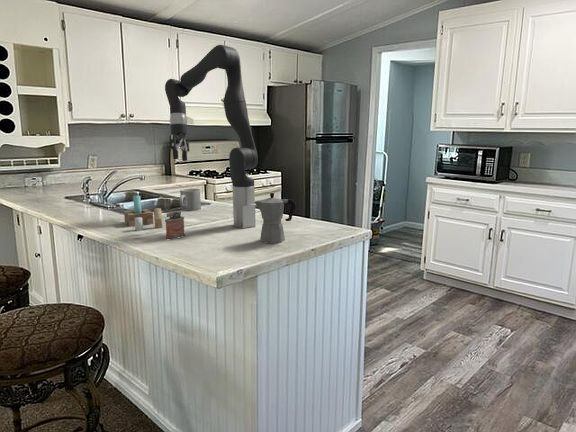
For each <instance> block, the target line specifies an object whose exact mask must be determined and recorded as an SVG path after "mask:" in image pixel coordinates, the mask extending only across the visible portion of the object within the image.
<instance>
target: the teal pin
mask: <svg viewBox="0 0 576 432" xmlns="http://www.w3.org/2000/svg"><path fill="white" fill-rule="evenodd" d="M132 199H133V210H134V214H135V213H142V211H141V210H142V201H141V200H142V199H141V195H133V196H132Z"/></svg>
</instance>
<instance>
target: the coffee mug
mask: <svg viewBox="0 0 576 432" xmlns="http://www.w3.org/2000/svg"><path fill="white" fill-rule="evenodd" d="M179 192H180V193H179V194H180V196H179V199H178V202H179V205H180V208H181V211H184V212H191V211H193V212H194V211H200V210H202V203H201V202H202V201H201V189H200V188H182V189H180V190H179Z"/></svg>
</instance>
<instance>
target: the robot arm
mask: <svg viewBox="0 0 576 432" xmlns="http://www.w3.org/2000/svg"><path fill="white" fill-rule="evenodd" d="M241 66H242V65H241V57H240V54H239V52H238V51H237V49H236V48H234V47H231V46H229V45H224V44H217V45H215V46H214V47H213V48H211V49H210V51H209V52H207V54H205V56H203V58H201V60H199V62H198V63H197V64H195V65H194V66H192V68H190V69H189V70H187V71H186V72H184V73H183V74H182V75H181V76H180V78H179V80H177V79H173V78H169V79H168V80H166V82H165V84H164V91H165V95H166V98H167V102H168V105H169V129H170V130H169V131H170V135H169V149H170V150H171V151H172V159H173V160H179V149H180V151H181V161H182V162H187V161H188V153H190V141H189V138H186V136H187V135H188V118H187V109H186V103H185V102H184V101H183V100H181V99H180V98H184V97H186V96H188V95H189V94H190V92H191V91H192V89H193V88H195V87H197V86H198V85H200V84H202V83H203V82H204V80H205V79H206V78H207V74H208V73H209V72H210V71H212V70H216V69H221V70H225V73H226V79H227V87H226V90H225V93H224V97H223V108H224V112H225V117H226V120H227V122H228V123H229V125H230V127H231V128H232V129H233V130H234V132H235V133H236V134H237V136H238V139H239V142H240V146H241V147H233V148H232V149H231V150H230V152H229V156H228V158H229V159H228V161H229V174H230V180H231V183H232V186H231V187H232V215H233V226H234V227H235V228H242V229H246V228H253V227H256V226H257V224H256V220H257V218H256V204H255V203H254V202H255V201H256V200H255V195H256V194H255V178H252V177H250V176H248V175H247V174H246V170H251V169H255V168H256V167H257V166H258V162H259V158H258V151H257V147H256V144H255V140H254V136H253V132H252V129H251V125H250V118H249V114H248V113H249V112H248V107H247V101H246V97H245V91H244V86H243V84H244V83H243V80H242V77H243V76H242V68H241Z"/></svg>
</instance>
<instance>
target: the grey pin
mask: <svg viewBox="0 0 576 432" xmlns="http://www.w3.org/2000/svg"><path fill="white" fill-rule="evenodd" d="M134 227H135V231H136V230H138V232H141V231H143V230H144V225H143V222H142V218H141V217H138V218H135V226H134ZM140 230H141V231H140Z"/></svg>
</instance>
